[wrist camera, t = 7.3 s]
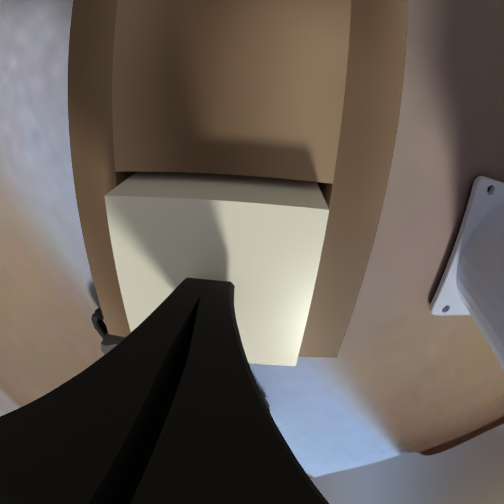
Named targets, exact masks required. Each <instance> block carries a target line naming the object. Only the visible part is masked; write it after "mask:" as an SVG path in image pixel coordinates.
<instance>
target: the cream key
mask: <svg viewBox="0 0 504 504" xmlns="http://www.w3.org/2000/svg"><path fill="white" fill-rule="evenodd" d="M105 204H106V211H107V219H108V225H109V232H110V238H111V244H112V250H113V255H114V261H115V266H116V271H117V276H118V281H119V286H120V290H121V295H122V299H123V303H124V308H125V312H126V316H127V320H128V324H129V327H130V331H131V332H132V331H133V330H134V329H135V328H137V327H138V326H139V325H140V324H141V323H142V322H143V321H144V320H145V319H146V318H147V317H148V316H149V315H150V314H151V313H152V312H153V311H154V310H155V309H156V308H157V307H158V306H159V305H160V304H161V303H162V302H163V301H164V300H165V299H166V298H167V297H168V296H169V295H170V294H171V293H172V292H173V291H174V290H175V288H176V287H177V286H178V285H179V284H180V283H181V282H182V281H183V280H184V279H186V278H197V279H207V280H218V281H229V282H232V283H233V284H234V286H235V289H234V309H235V315H236V321H237V325H238V329H239V333H240V337H241V341H242V345H243V348H244V351H245V354H246V357H247V360H248V363H252V364H266V365H283V366H296V362H297V359H298V355H299V351H300V347H301V343H302V339H303V334H304V330H305V326H306V322H307V318H308V313H309V309H310V305H311V300H312V296H313V291H314V286H315V282H316V277H317V272H318V267H319V262H320V257H321V252H322V247H323V242H324V237H325V231H326V226H327V220H328V215H329V208H328V206H327V204H326V201H325V199H324V197H323V195H322V193H321V191H320V188H319V186H318V184H317V182H312V181H303V180H293V179H282V178H271V177H259V176H245V175H229V174H211V173H187V172H138V171H137V172H136V173H134V174H133V175H131V176H130V177H129V178H127V179H126V180H125V181H123V182H122V183H121V184H119V185H118V186H117V187H115V188H114V189H113V190H111V191H110V192H109V193H107V194H106V195H105Z"/></svg>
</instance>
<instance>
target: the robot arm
mask: <svg viewBox="0 0 504 504" xmlns="http://www.w3.org/2000/svg"><path fill="white" fill-rule="evenodd" d="M489 186H490V190H489V191H488V192H487V189H488V187H489ZM234 289H235V286H234V284H233V283H232V282H229V281H218V280H207V279H197V278H186V279H184V280H183V281H182V282H181V283H180V284H179V285H178V286H177V287H176V288H175V290H174V291H173V292H172V293H171V294H170V295H169V296H168V297H167V298H166V299H165V300H164V301H163V302H162V303H161V304H160V305H159V306H158V307H157V308H156V309H155V310H154V311H153V312H152V313H151V314H150V315H149V316H148V317H147V318H146V319H145V320H144V321H143V322H142V323H141V324H140V325H139V326H138V327H137V328H135V329H134V330H133V331H132V332H131V333H130V334H129V335H127V336H126V337H125V338H124V339H123V340H122V341H121V342H120V343H118V344H117V345H116V346H115V347H114V348H113V349H111V350H110V351H109V352H108V353H106V354H105V355H104V356H103V357H101V358H100V359H99V360H98V361H96V362H95V363H93V364H92V365H91V366H89V367H88V368H87V369H85V370H84V371H83V372H81V373H80V374H78V375H76V376H75V377H73V378H72V379H70V380H69V381H67V382H66V383H64V384H62V385H61V386H59V387H58V388H56V389H54V390H53V391H51V392H50V393H48V394H46V395H44V396H42V397H40V398H39V399H37V400H35V401H33V402H31V403H29V404H27V405H25V406H23V407H21V408H19V409H17V410H15V411H12V412H10V413H8V414H5V415H3V416H1V417H0V504H329V503H328V502H327V500H326V499H325V498H324V497H323V495H322V494H321V493H320V492H319V490H318V489H317V488H316V486H315V485H314V484H313V482H312V481H311V479H310V478H309V477H308V475H307V474H306V472H305V471H304V469H303V468H302V467H301V465H300V464H299V462H298V461H297V459H296V457H295V456H294V454H293V453H292V451H291V449H290V448H289V446H288V444H287V443H286V441H285V439H284V438H283V436H282V434H281V432H280V431H279V429H278V427H277V426H276V424H275V422H274V420H273V418H272V416H271V414H270V412H269V410H268V408H267V406H266V404H265V402H264V400H263V398H262V395H261V393H260V391H259V389H258V386H257V384H256V382H255V379H254V377H253V374H252V371H251V369H250V366H249V363H248V360H247V357H246V354H245V351H244V348H243V345H242V341H241V337H240V333H239V329H238V325H237V321H236V315H235V309H234ZM429 308H430V311H431V313H432V314H433V315H471V316H472V318H473V319H474V321H475V322H476V324H477V326H478V327H479V329H480V330H481V332H482V334H483V335H484V337H485V339H486V340H487V342H488V344H489V346H490V347H491V349H492V351H493V353H494V354H495V356H496V358H497V360H498V362H499V363H500V365H501V367H502V369H503V371H504V182H500V181H497V180H494V179H491V178H488V177H485V176H479V177H477V178H476V179H475V181H474V183H473V186H472V190H471V194H470V198H469V201H468V205H467V208H466V211H465V215H464V218H463V221H462V224H461V227H460V230H459V233H458V236H457V239H456V242H455V245H454V248H453V251H452V253H451V256H450V259H449V261H448V264H447V266H446V269H445V271H444V274H443V276H442V279H441V281H440V284H439V286H438V288H437V291H436V293H435V295H434V297H433V300H432V302H431V304H430V307H429Z"/></svg>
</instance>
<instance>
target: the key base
mask: <svg viewBox="0 0 504 504" xmlns="http://www.w3.org/2000/svg"><path fill="white" fill-rule="evenodd" d="M407 4H408V0H74V2H73V9H72V18H71V28H70V40H69V58H68V116H69V134H70V147H71V158H72V168H73V176H74V184H75V191H76V198H77V205H78V211H79V217H80V222H81V228H82V233H83V238H84V243H85V248H86V252H87V257H88V261H89V265H90V270H91V274H92V278H93V282H94V285H95V289H96V293H97V297H98V300H99V304H100V307H101V310H102V314H103V317H104V320H105V324H106V327H107V330H108V333H109V334H111V335H116V336H121V337H126V336H127V335H129V334H130V333H131V331H130V327H129V324H128V320H127V316H126V312H125V308H124V303H123V299H122V295H121V290H120V286H119V281H118V276H117V271H116V266H115V261H114V255H113V250H112V244H111V238H110V232H109V225H108V219H107V211H106V204H105V195H106V194H107V193H109V192H110V191H111V190H113V189H114V188H115V187H117V186H118V185H119V184H121V183H122V182H123V181H125V180H126V179H127V178H129V177H130V176H131V175H133V174H134V173H136V172H137V171H138V172H187V173H211V174H229V175H245V176H259V177H271V178H282V179H293V180H303V181H312V182H317V184H318V186H319V188H320V191H321V193H322V195H323V197H324V199H325V201H326V204H327V206H328V208H329V215H328V220H327V226H326V231H325V237H324V242H323V247H322V252H321V257H320V262H319V267H318V272H317V277H316V282H315V286H314V291H313V296H312V300H311V305H310V309H309V313H308V318H307V322H306V326H305V330H304V334H303V339H302V343H301V347H300V351H299V355H298V356H299V357H334V358H337V355H338V352H339V350H340V347H341V344H342V341H343V339H344V336H345V333H346V330H347V327H348V324H349V322H350V319H351V316H352V313H353V310H354V307H355V304H356V300H357V297H358V294H359V291H360V288H361V284H362V281H363V278H364V274H365V271H366V268H367V264H368V261H369V257H370V253H371V250H372V246H373V242H374V238H375V235H376V231H377V227H378V223H379V218H380V214H381V210H382V206H383V201H384V197H385V192H386V188H387V183H388V178H389V173H390V168H391V162H392V157H393V151H394V145H395V139H396V133H397V127H398V120H399V113H400V105H401V97H402V88H403V79H404V68H405V55H406V39H407Z"/></svg>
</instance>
